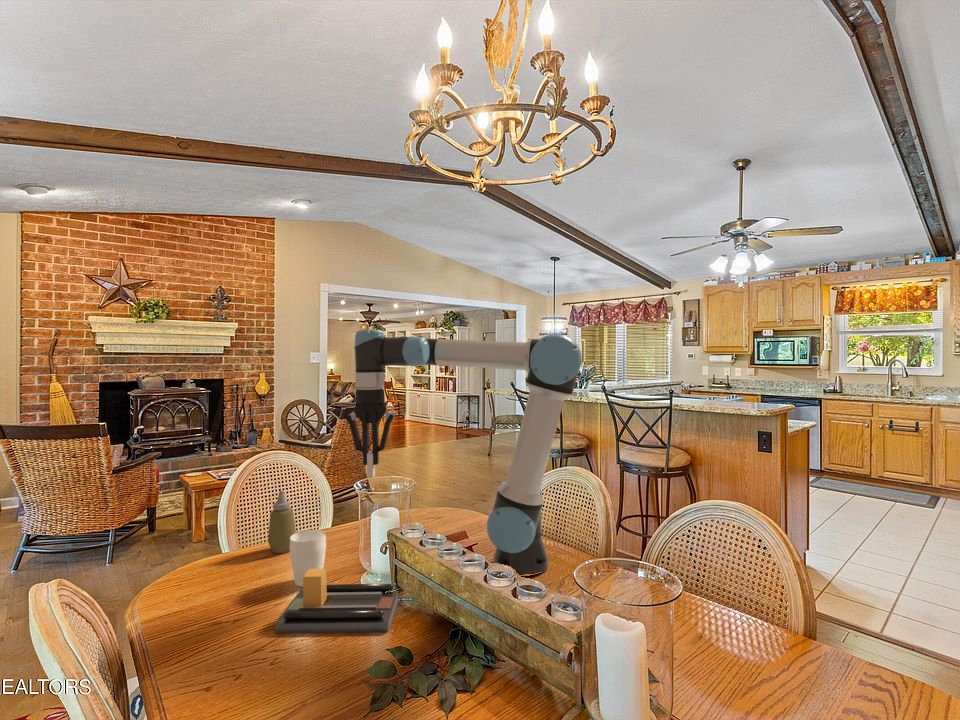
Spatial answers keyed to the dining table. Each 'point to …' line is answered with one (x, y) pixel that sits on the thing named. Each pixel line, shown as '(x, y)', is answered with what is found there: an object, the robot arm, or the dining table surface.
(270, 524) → the squeeze bottle
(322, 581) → the amber wood post
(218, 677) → the dining table surface
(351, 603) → the panel
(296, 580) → the cup
